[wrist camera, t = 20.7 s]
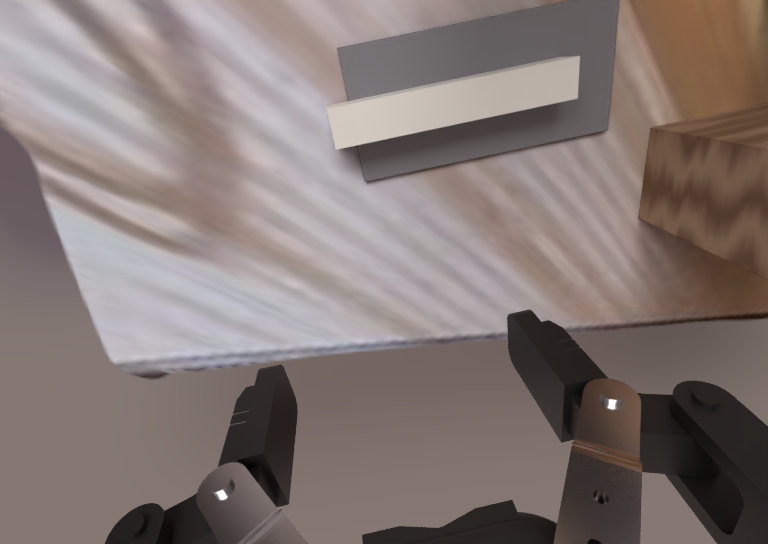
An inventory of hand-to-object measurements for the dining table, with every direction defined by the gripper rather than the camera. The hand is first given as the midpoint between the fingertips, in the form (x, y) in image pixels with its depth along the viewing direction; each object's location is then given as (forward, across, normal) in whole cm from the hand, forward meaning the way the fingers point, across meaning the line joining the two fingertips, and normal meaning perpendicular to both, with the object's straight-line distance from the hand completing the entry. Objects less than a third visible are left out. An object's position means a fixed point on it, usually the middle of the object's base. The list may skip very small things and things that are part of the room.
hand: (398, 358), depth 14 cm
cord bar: (+36, -12, -4) cm, 38 cm away
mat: (+36, -16, -4) cm, 40 cm away
